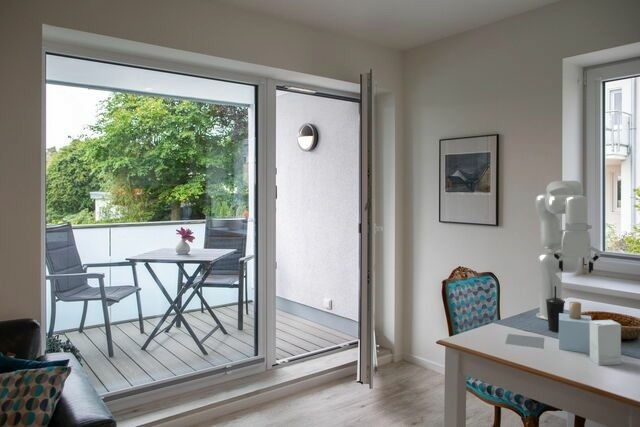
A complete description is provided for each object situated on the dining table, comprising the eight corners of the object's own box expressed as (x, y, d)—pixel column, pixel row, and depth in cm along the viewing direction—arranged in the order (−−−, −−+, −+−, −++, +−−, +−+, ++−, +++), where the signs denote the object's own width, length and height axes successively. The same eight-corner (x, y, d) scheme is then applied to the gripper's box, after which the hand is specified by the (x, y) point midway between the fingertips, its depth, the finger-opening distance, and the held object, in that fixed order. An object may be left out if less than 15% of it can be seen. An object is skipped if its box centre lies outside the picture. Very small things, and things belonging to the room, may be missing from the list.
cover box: (558, 341, 191) (559, 298, 190) (590, 345, 186) (590, 301, 185) (558, 350, 181) (559, 304, 180) (592, 354, 176) (592, 307, 175)
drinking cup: (567, 334, 200) (567, 288, 199) (548, 333, 201) (548, 287, 200) (561, 329, 207) (562, 284, 206) (543, 328, 209) (543, 284, 208)
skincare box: (611, 359, 171) (611, 319, 170) (621, 365, 165) (622, 323, 164) (588, 359, 171) (588, 319, 170) (597, 365, 165) (598, 324, 164)
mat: (508, 334, 201) (508, 333, 201) (544, 338, 195) (544, 337, 195) (505, 344, 188) (505, 343, 188) (543, 349, 182) (543, 348, 182)
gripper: (601, 227, 180) (600, 271, 181) (551, 226, 188) (550, 268, 189) (603, 229, 174) (602, 274, 175) (551, 228, 182) (550, 271, 182)
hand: (575, 271), depth 182 cm, fingers open, 9 cm apart
